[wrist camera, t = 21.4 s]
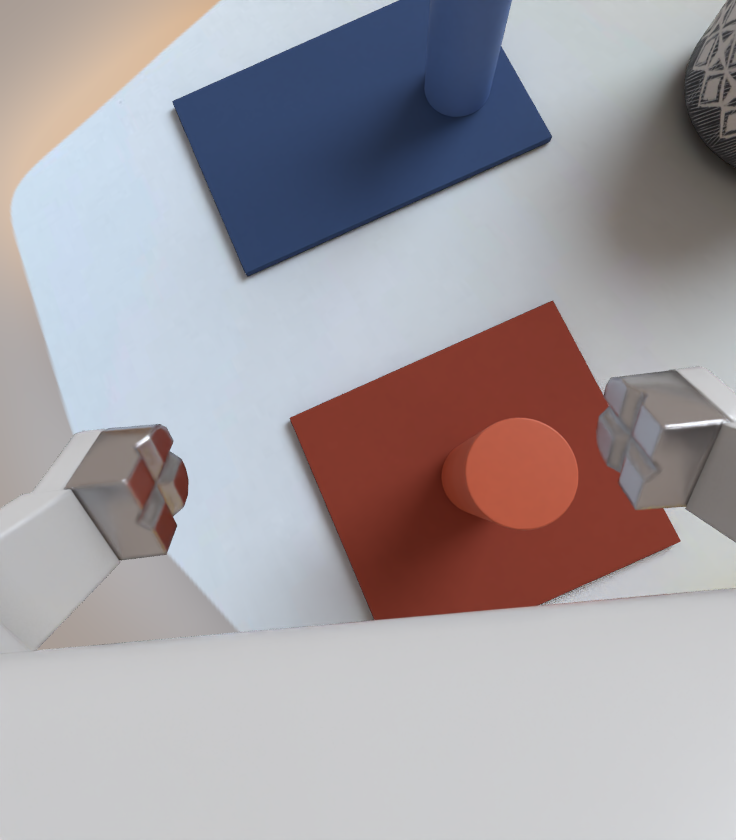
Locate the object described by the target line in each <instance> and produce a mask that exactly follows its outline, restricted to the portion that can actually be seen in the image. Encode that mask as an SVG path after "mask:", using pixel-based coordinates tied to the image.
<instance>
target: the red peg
mask: <svg viewBox="0 0 736 840" xmlns="http://www.w3.org/2000/svg"><path fill="white" fill-rule="evenodd" d="M441 479H442V485H443V489H444V491H445V493H446V495H447V497H448V498H449V500H450V501H451V502H452V503H453V504H454V505H455V506H456V507H458V508H459V509H461V510H463V511H465V512H467V513H470V514H472V515H475V516H478V517H480V518H483V519H485V520H488V521H490V522H493V523H495V524H498V525H501V526H503V527H506V528H510V529H515V530H533V529H538V528H541V527H544V526H547V525H549V524H550V523H552V522H554V521H555V520H557V519H558V518H559V517H560V516H561V515H563V514H564V513H565V511H566V510H567V509H568V508H569V506H570V504H571V503H572V501H573V499H574V496H575V494H576V490H577V487H578V467H577V462H576V459H575V456H574V453H573V451H572V449H571V448H570V446H569V444H568V443H567V442H566V440H565V439H564V438H563V437H562V436H561V435H560V434H559V433H558V432H557V431H556V430H554V429H553V428H552V427H550V426H548V425H546V424H544V423H542V422H540V421H537V420H533V419H528V418H510V419H505V420H502V421H499V422H496V423H494V424H493V425H491V426H489V427H487V428H486V429H484V430H483V431H481V432H479V433H478V434H476V435H475V436H473V437H471V438H470V439H468V440H467V441H465V442H464V443H462V444H460V445H459V446H457V447H456V448H455V449H453V450H452V451H451V452H450V454H449V455H448V456H447V458H446V460H445V462H444V464H443V468H442V474H441Z"/></svg>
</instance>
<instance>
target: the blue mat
mask: <svg viewBox="0 0 736 840" xmlns="http://www.w3.org/2000/svg"><path fill="white" fill-rule="evenodd" d="M429 15H430V0H399V1H396V2H394V3H392V4H390V5H388V6H385V7H383V8H381V9H379V10H376V11H374V12H372V13H370V14H367V15H365V16H363V17H361V18H358V19H356V20H354V21H352V22H349V23H347V24H345V25H343V26H340V27H338V28H336V29H334V30H331V31H329V32H327V33H325V34H322V35H320V36H318V37H316V38H313V39H311V40H309V41H307V42H304V43H302V44H300V45H298V46H295V47H293V48H291V49H289V50H286V51H284V52H282V53H280V54H278V55H275V56H273V57H271V58H269V59H266V60H264V61H262V62H260V63H257V64H255V65H253V66H251V67H248V68H246V69H244V70H242V71H239V72H237V73H235V74H233V75H230V76H228V77H226V78H224V79H221V80H219V81H217V82H215V83H212V84H210V85H208V86H206V87H203V88H201V89H199V90H197V91H194V92H192V93H190V94H188V95H185V96H183V97H181V98H179V99H176V100H174V101H172V102H173V105H174V107H175V109H176V112H177V114H178V116H179V119H180V121H181V123H182V126H183V128H184V131H185V133H186V135H187V138H188V140H189V142H190V145H191V147H192V149H193V152H194V154H195V156H196V159H197V161H198V163H199V166H200V168H201V170H202V173H203V175H204V177H205V180H206V182H207V184H208V187H209V189H210V192H211V194H212V196H213V199H214V201H215V203H216V206H217V208H218V210H219V213H220V215H221V217H222V220H223V222H224V224H225V227H226V229H227V231H228V234H229V236H230V238H231V241H232V243H233V245H234V248H235V250H236V253H237V255H238V257H239V260H240V262H241V264H242V267H243V269H244V271H245V273H246V275H247V276H250V275H252V274H254V273H256V272H259V271H261V270H263V269H265V268H268V267H270V266H272V265H274V264H277V263H279V262H281V261H283V260H286V259H288V258H290V257H292V256H295V255H297V254H299V253H301V252H304V251H306V250H308V249H310V248H313V247H315V246H317V245H319V244H321V243H324V242H326V241H328V240H330V239H333V238H335V237H337V236H339V235H342V234H344V233H346V232H348V231H351V230H353V229H355V228H357V227H360V226H362V225H364V224H366V223H369V222H371V221H373V220H375V219H378V218H380V217H382V216H384V215H386V214H389V213H391V212H393V211H395V210H398V209H400V208H402V207H404V206H407V205H409V204H411V203H413V202H416V201H418V200H420V199H422V198H425V197H427V196H429V195H431V194H434V193H436V192H438V191H440V190H443V189H445V188H447V187H449V186H452V185H454V184H456V183H458V182H460V181H463V180H465V179H467V178H469V177H472V176H474V175H476V174H478V173H481V172H483V171H485V170H487V169H490V168H492V167H494V166H496V165H499V164H501V163H503V162H505V161H508V160H510V159H512V158H514V157H517V156H519V155H521V154H523V153H526V152H528V151H530V150H532V149H534V148H537V147H539V146H541V145H543V144H546V143H548V142H550V140H551V138H552V136H551V134H550V132H549V130H548V129H547V127H546V125H545V123H544V121H543V120H542V118H541V116H540V114H539V113H538V111H537V109H536V107H535V105H534V104H533V102H532V100H531V98H530V97H529V95H528V93H527V91H526V90H525V88H524V86H523V84H522V82H521V81H520V79H519V77H518V75H517V74H516V72H515V70H514V68H513V66H512V65H511V63H510V61H509V59H508V58H507V56H506V54H505V52H504V50H503V49H502V47H501V48H500V52H499V56H498V60H497V65H496V69H495V73H494V77H493V81H492V86H491V90H490V94H489V97H488V99H487V101H486V102H485V103H484V105H483V106H482V107H481V108H480V109H479V110H477V111H476V112H474V113H472V114H470V115H467V116H462V117H451V116H446V115H444V114H441V113H439V112H438V111H436V110H435V109H434V108H433V107H432V106H431V105H430V104H429V102H428V100H427V98H426V95H425V90H424V86H425V71H426V57H427V43H428V29H429Z"/></svg>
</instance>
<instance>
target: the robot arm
mask: <svg viewBox="0 0 736 840" xmlns="http://www.w3.org/2000/svg"><path fill="white" fill-rule="evenodd" d="M603 397H604V399H605V400H606V402H607V403H608V405H609V407H608V408H607V409H606V410H605V411H604V412H603V413H602V414H601V415H600V416H599V417H598V422H597V427H596V441H597V447H598V450H599V453H600V455H601V457H602V459H603V460H604V462H605V464H606V465H607V466H609V467H610V468H612V469H614V470H616V471H618V472H620V476H619V479H618V484H619V486H620V487H621V489H622V490H623V492H624V493H625V495H626V497H627V498H628V500H629V501H630V503H631V504H632V506H633V507H634V509H635V510H644V509H658V508H673V507H686V508H685V509H686V510H688V511H689V512H691V513H692V514H694V515H695V516H697V517H698V518H700V519H701V520H703V521H704V522H706V523H707V524H709V525H710V526H712V527H713V528H715V529H716V530H718V531H719V532H721V533H722V534H724V535H725V536H727V537H728V538H730V539H731V540H733V541H734V542H736V393H735V392H734V391H733V390H732V389H731V388H729V387H728V386H727V385H726V384H725V383H724V382H722V381H721V380H720V379H719V378H718V377H717V376H715V375H714V374H713V373H712V372H711V371H710V370H708V369H706V368H703V367H700V366H695V367H688V368H681V369H673V370H669V371H663V372H654V373H646V374H637V375H628V376H620V377H611V378H610V380H609V382H608V383H607V385H606V388H605V392H604V396H603ZM172 444H173V439H172V437H171V435H170V433H169V431H168V429H167V428H166V427H164V426H163V425H161V424H155V425H143V426H131V427H119V428H108V429H97V430H87V431H81V432H79V433H76V434H74V435H73V437H72V438H71V439H70V441H69V442H68V444H67V445H66V446H65V448H64V449H63V450H62V452H61V453H60V455H59V456H58V457H57V459H56V460H55V461H54V463H53V464H52V465H51V467H50V468H49V470H48V471H47V472H46V473H45V475H44V476H43V478H42V479H41V480H40V482H39V483H38V484H37V486H36V487H35V489H34V490H33V491H32V493H28V494H22V495H20V496H18V497H17V498H15V499H14V500H12V501H10V502H9V503H7V504H6V505H4V506H3V507H1V508H0V840H736V588H729V589H718V590H707V591H696V592H684V593H673V594H662V595H651V596H640V597H629V598H618V599H607V600H595V601H584V602H573V603H562V604H551V605H540V606H529V607H518V608H507V609H495V610H484V611H473V612H462V613H450V614H439V615H428V616H417V617H405V618H394V619H383V620H371V621H360V622H349V623H338V624H326V625H315V626H304V627H292V628H281V629H270V630H259V631H248V632H236V633H226V634H214V635H203V636H193V637H192V636H191V637H180V638H170V639H159V640H147V641H135V642H124V643H114V644H102V645H91V646H80V647H68V648H57V649H47V650H37V649H38V648H39V647H40V646H41V645H42V644H43V643H44V642H45V641H46V640H47V639H48V637H49V636H50V635H51V634H52V633H53V632H54V631H55V630H56V629H57V628H58V627H59V626H60V625H61V624H62V623H63V622H64V621H65V620H66V619H67V618H68V617H69V616H70V614H72V612H73V611H74V610H75V609H76V608H77V607H78V606H79V605H80V604H81V603H82V602H83V601H84V600H85V599H86V598H87V597H88V596H89V595H90V594H91V593H92V592H93V591H94V590H95V589H96V588H97V586H98V585H99V584H100V583H101V582H102V581H103V580H104V579H105V578H106V577H107V576H108V575H109V574H110V573H111V572H112V571H113V570H114V569H115V568H116V567H117V566H118V565H119V564H120V561H119V560H127V559H136V558H144V557H152V556H160V555H166V554H167V552H168V549H169V546H170V543H171V541H172V538H173V535H174V533H175V530H176V527H177V524H176V522H175V520H174V518H173V516H174V515H175V514H176V513H178V512H179V511H180V510H181V509H182V508H183V507H184V505H185V502H186V499H187V496H188V476H187V471H186V468H185V466H184V463H183V461H182V459H181V458H179V457H178V456H176V455H175V454H173V453H172V452H170V449H171V446H172Z"/></svg>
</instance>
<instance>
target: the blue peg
mask: <svg viewBox="0 0 736 840" xmlns="http://www.w3.org/2000/svg"><path fill="white" fill-rule="evenodd" d="M511 2H512V0H430V15H429V29H428V43H427V57H426V71H425V86H424V90H425V95H426V98H427V100H428V102H429V104H430V105H431V106H432V107H433V108H434V109H435V110H436V111H438V112H439V113H441V114H444V115H446V116H451V117H462V116H467V115H470V114H472V113H474V112H476V111H477V110H479V109H480V108H481V107H482V106H483V105H484V103H485V102H486V101H487V99H488V97H489V94H490V90H491V86H492V81H493V77H494V73H495V69H496V65H497V60H498V56H499V52H500V48H501V44H502V40H503V35H504V31H505V27H506V23H507V19H508V14H509V10H510V6H511Z"/></svg>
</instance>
